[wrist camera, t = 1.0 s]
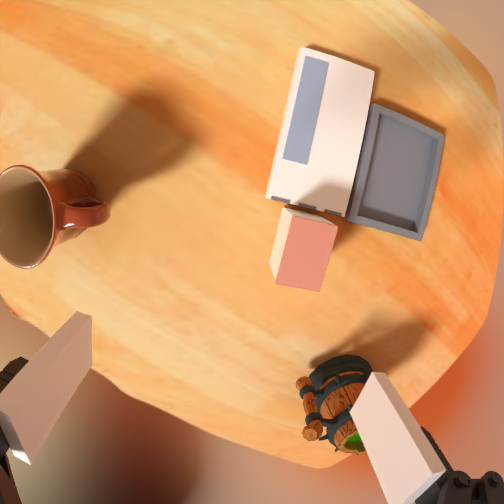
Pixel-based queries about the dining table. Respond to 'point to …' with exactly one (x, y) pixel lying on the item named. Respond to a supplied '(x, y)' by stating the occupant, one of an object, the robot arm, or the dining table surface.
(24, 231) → the mug
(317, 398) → the mug
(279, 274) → the block
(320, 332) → the dining table surface
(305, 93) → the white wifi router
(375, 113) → the tray
